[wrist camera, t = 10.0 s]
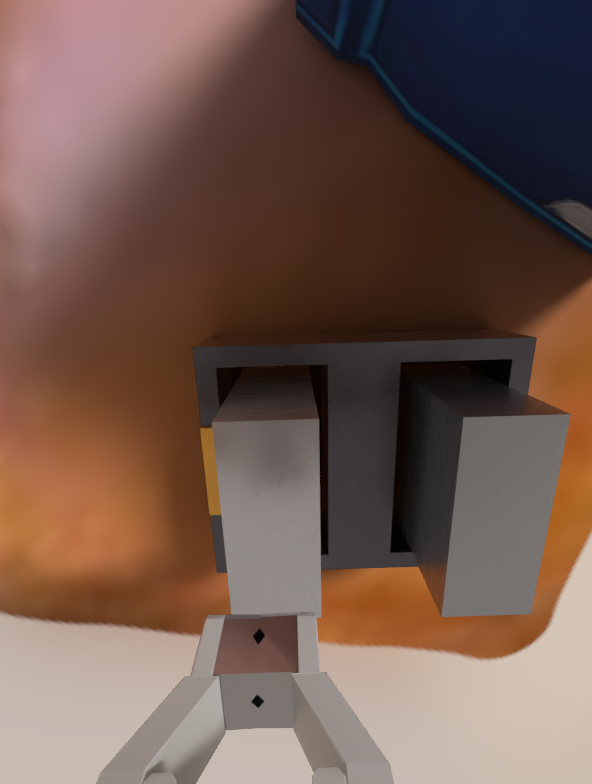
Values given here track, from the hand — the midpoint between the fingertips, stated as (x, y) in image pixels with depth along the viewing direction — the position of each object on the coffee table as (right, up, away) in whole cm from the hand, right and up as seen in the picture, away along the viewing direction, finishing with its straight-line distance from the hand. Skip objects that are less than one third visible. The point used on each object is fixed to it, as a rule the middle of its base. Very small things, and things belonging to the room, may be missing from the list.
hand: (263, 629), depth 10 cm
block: (0, +4, +13) cm, 13 cm away
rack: (+4, +4, +13) cm, 14 cm away
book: (+11, +21, +8) cm, 25 cm away
